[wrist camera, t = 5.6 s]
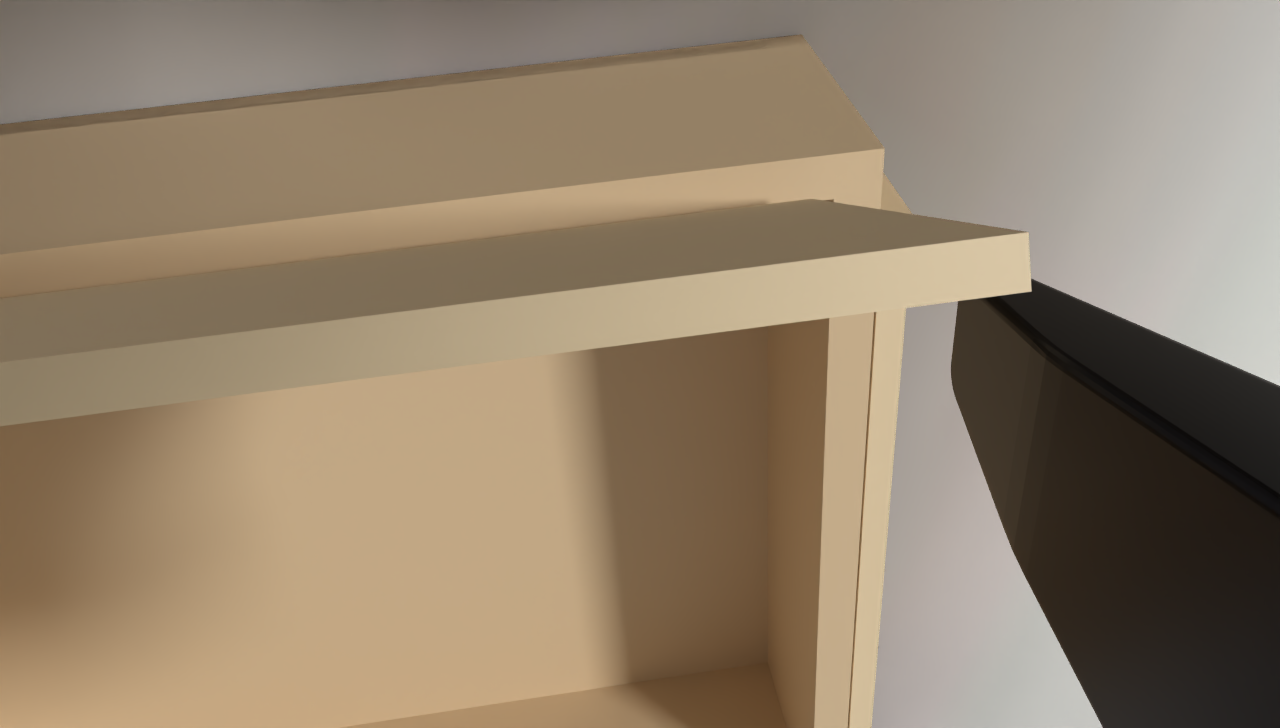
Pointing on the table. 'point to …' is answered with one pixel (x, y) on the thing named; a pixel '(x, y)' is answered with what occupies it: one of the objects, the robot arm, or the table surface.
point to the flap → (484, 303)
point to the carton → (455, 425)
